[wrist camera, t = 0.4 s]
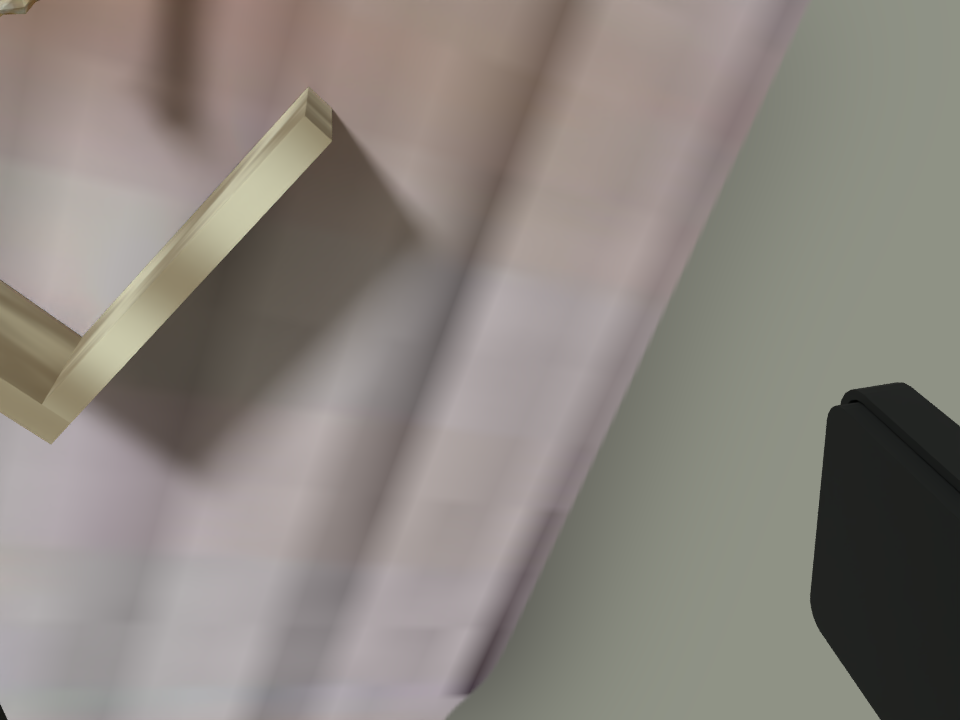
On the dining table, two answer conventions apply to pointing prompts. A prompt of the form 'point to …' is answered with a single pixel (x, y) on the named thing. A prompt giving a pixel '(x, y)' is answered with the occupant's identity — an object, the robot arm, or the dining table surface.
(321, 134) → the box
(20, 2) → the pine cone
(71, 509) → the dining table surface
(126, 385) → the dining table surface
